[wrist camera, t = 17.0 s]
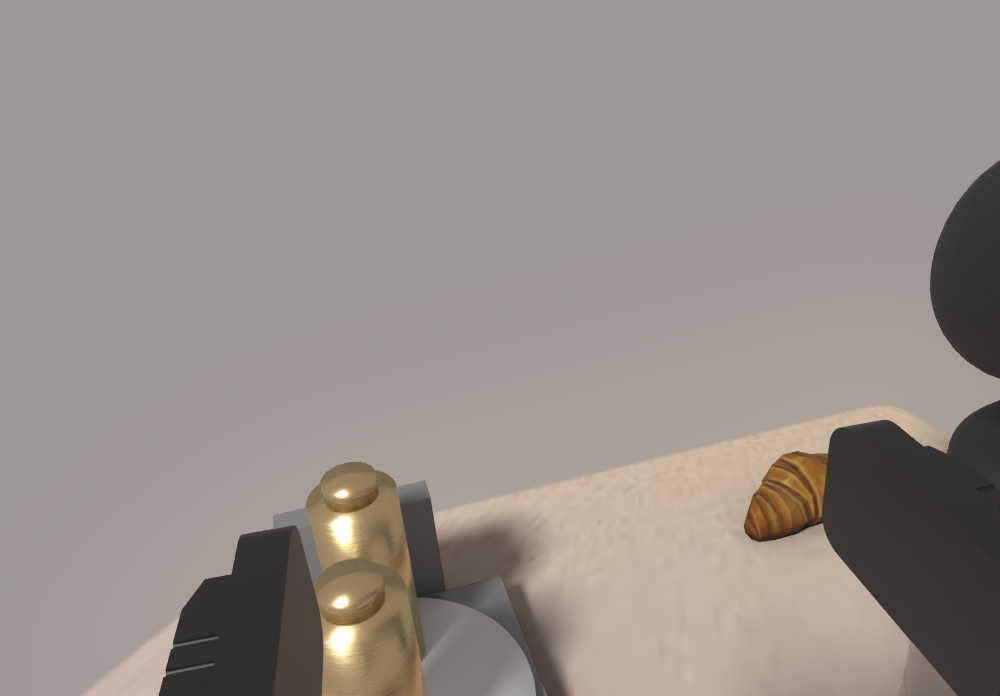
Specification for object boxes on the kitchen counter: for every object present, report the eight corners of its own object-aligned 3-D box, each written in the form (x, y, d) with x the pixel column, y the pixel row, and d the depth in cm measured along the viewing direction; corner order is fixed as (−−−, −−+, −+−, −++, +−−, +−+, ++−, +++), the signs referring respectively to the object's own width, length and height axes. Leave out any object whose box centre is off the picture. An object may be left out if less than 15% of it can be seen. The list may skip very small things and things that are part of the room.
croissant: (822, 459, 69) (827, 411, 67) (894, 495, 64) (902, 444, 61) (714, 521, 63) (716, 470, 61) (783, 567, 57) (788, 513, 55)
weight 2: (406, 713, 44) (367, 529, 38) (459, 773, 41) (424, 580, 35) (328, 769, 41) (273, 581, 36) (378, 839, 38) (325, 642, 32)
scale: (495, 583, 58) (480, 462, 54) (595, 851, 40) (585, 704, 35) (250, 647, 55) (210, 523, 50) (238, 971, 37) (174, 827, 32)
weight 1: (397, 609, 51) (363, 442, 46) (441, 652, 48) (411, 476, 42) (330, 651, 49) (285, 479, 43) (372, 700, 45) (329, 519, 39)
